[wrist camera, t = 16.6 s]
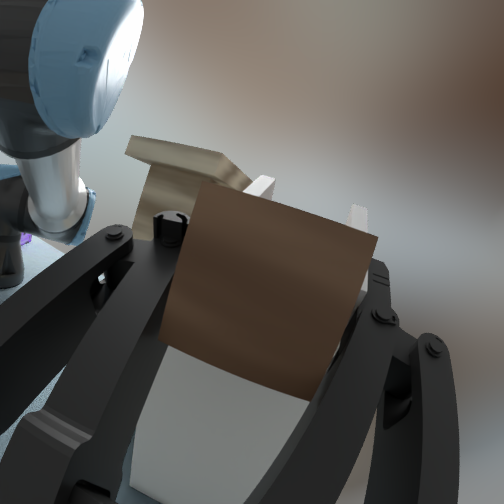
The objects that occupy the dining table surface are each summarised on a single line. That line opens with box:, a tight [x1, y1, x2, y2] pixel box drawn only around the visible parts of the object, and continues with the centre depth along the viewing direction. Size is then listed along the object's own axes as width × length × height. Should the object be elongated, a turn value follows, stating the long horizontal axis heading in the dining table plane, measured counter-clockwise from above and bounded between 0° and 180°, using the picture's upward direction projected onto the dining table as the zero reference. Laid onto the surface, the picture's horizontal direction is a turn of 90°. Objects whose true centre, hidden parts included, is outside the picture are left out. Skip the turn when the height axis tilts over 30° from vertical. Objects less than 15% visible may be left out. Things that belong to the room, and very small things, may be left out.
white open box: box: [129, 342, 340, 504], centre depth 24 cm, size 18×12×20 cm, turn 167°
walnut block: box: [158, 181, 378, 402], centre depth 20 cm, size 28×4×4 cm, turn 167°
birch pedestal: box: [125, 135, 253, 426], centre depth 36 cm, size 22×10×30 cm, turn 167°
